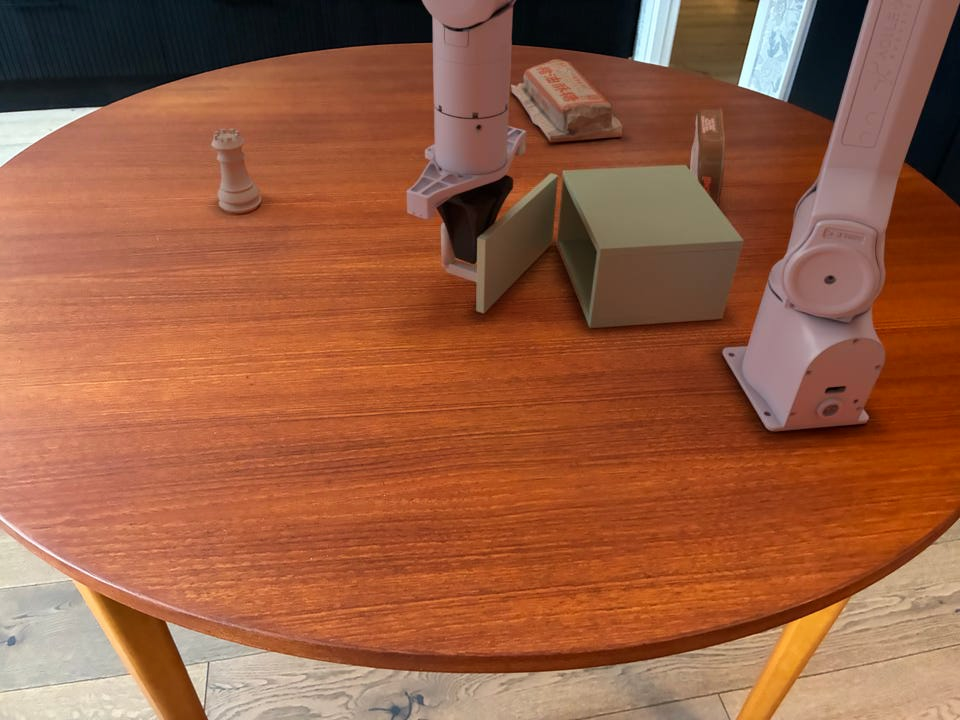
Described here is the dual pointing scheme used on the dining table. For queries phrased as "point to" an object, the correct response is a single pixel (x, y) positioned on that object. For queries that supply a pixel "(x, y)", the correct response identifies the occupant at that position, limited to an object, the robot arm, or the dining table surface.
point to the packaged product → (566, 103)
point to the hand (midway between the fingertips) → (469, 256)
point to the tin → (709, 151)
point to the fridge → (645, 246)
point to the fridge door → (507, 244)
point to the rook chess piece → (234, 174)
